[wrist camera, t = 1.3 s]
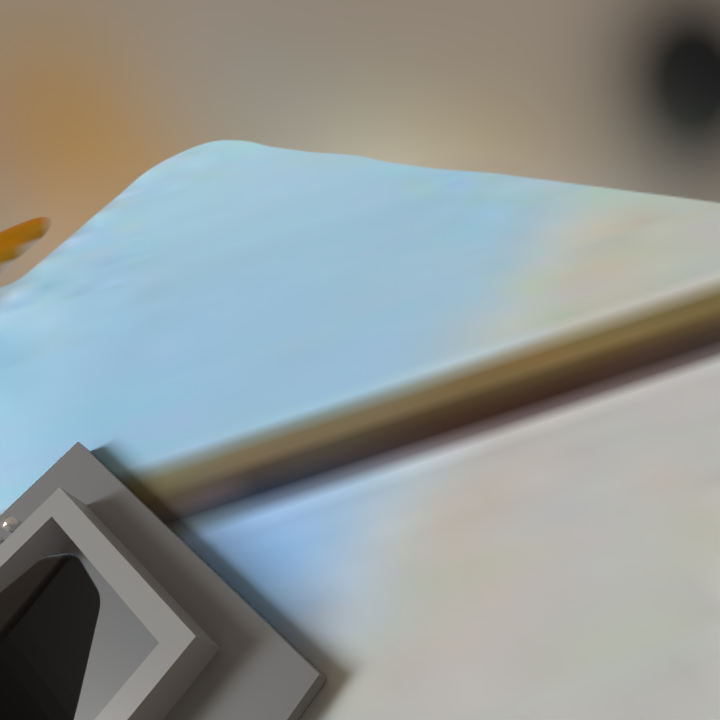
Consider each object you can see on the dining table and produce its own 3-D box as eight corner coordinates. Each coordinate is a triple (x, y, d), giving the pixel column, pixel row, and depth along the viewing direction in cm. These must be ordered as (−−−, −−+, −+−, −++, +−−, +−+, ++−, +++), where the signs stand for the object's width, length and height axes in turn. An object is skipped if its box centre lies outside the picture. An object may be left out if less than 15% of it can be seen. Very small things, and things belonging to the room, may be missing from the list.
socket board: (67, 1047, 17) (-8, 1085, 14) (-113, 645, 26) (-175, 630, 24) (327, 678, 21) (301, 663, 19) (89, 450, 31) (53, 422, 28)
